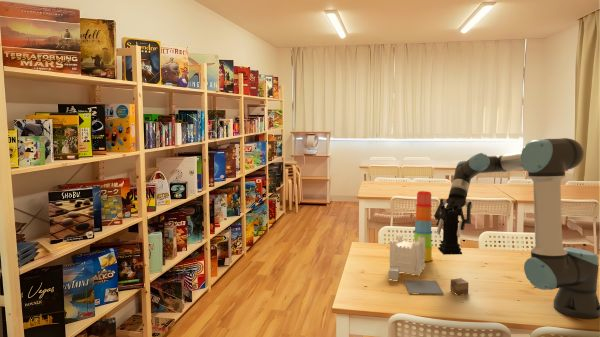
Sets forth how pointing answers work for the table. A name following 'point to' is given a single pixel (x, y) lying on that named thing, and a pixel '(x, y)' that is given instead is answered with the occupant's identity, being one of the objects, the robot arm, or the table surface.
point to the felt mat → (423, 287)
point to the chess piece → (450, 231)
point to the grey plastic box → (394, 272)
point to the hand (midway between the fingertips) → (448, 234)
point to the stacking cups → (424, 221)
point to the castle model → (408, 254)
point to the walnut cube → (459, 286)
